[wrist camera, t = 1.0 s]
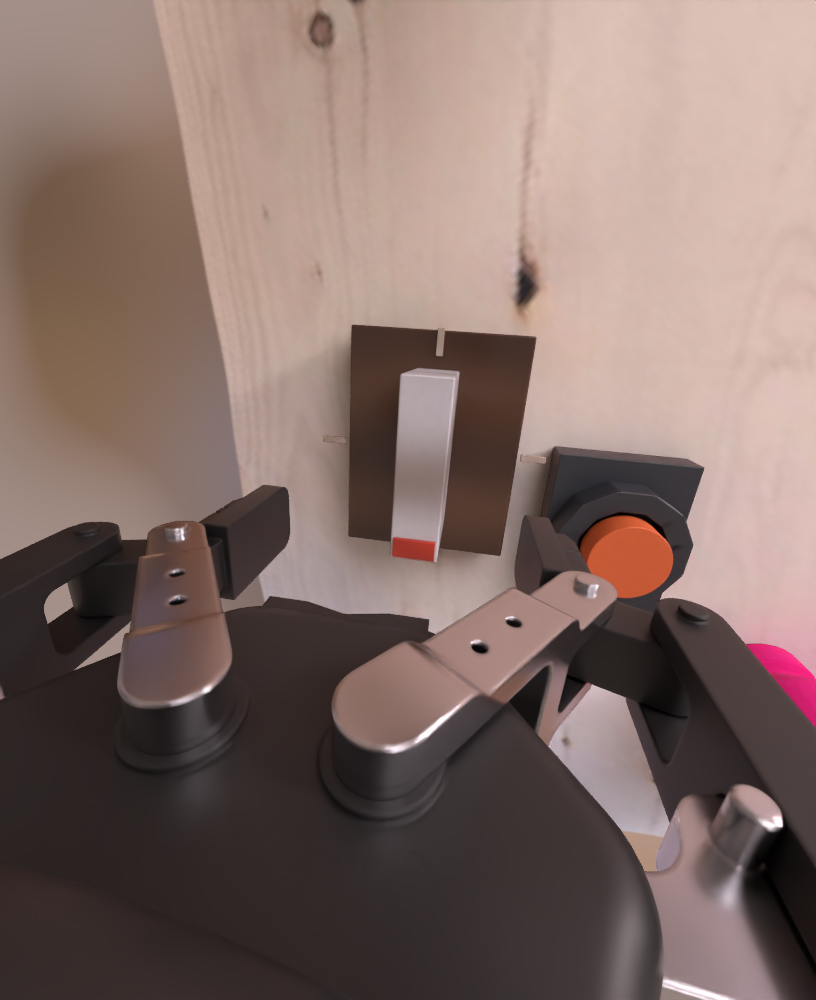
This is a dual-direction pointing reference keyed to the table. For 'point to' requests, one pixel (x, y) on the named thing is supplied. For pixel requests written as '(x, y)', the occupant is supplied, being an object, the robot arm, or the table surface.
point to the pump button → (627, 555)
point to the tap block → (476, 436)
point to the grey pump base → (623, 500)
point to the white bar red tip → (422, 461)
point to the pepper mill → (789, 676)
